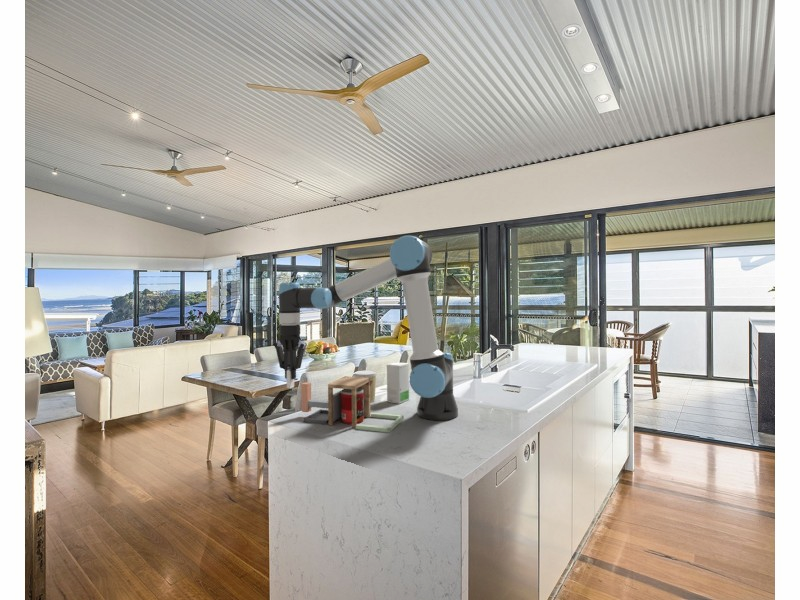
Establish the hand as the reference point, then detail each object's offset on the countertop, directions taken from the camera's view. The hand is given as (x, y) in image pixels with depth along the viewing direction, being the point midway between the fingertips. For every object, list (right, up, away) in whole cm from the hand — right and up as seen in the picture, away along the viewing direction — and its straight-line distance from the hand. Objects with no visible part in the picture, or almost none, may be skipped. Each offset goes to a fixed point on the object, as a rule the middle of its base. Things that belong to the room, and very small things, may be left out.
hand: (290, 387), depth 155 cm
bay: (+33, -10, -11) cm, 37 cm away
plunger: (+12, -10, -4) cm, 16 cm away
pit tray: (+13, -10, -4) cm, 17 cm away
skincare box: (+40, -10, +19) cm, 45 cm away
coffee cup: (+26, -10, +19) cm, 34 cm away
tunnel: (+23, -10, -7) cm, 26 cm away
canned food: (+24, -11, -8) cm, 27 cm away
